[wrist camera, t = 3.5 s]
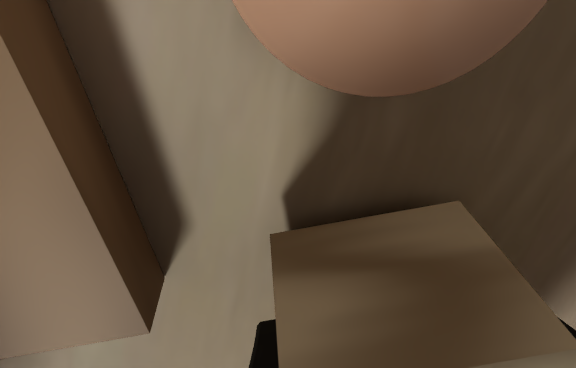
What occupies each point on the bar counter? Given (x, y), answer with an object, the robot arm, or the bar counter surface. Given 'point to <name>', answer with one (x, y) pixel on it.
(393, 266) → the block
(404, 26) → the brown rounded piece
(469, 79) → the bar counter surface
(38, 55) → the board
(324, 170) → the bar counter surface
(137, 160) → the bar counter surface
